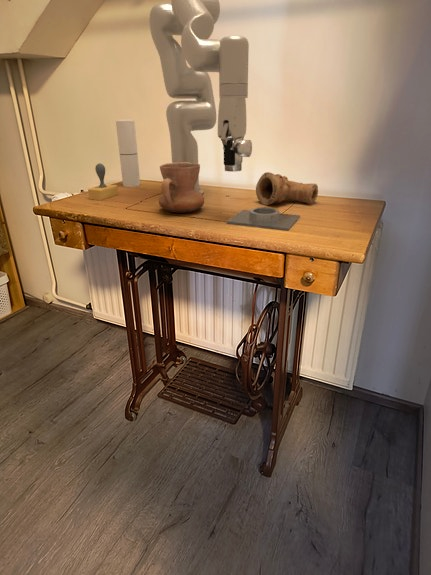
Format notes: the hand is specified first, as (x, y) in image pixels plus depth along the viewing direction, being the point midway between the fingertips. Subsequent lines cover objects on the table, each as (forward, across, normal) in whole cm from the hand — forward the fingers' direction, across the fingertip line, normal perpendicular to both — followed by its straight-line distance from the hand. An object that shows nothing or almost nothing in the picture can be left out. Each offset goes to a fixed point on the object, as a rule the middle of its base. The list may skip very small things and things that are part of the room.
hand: (233, 163), depth 110 cm
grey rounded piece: (+2, 0, +1) cm, 2 cm away
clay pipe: (+16, -23, +9) cm, 29 cm away
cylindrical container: (+15, -29, -58) cm, 67 cm away
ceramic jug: (+16, -1, -18) cm, 24 cm away
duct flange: (+16, 0, +10) cm, 18 cm away
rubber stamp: (+16, -7, -54) cm, 57 cm away
